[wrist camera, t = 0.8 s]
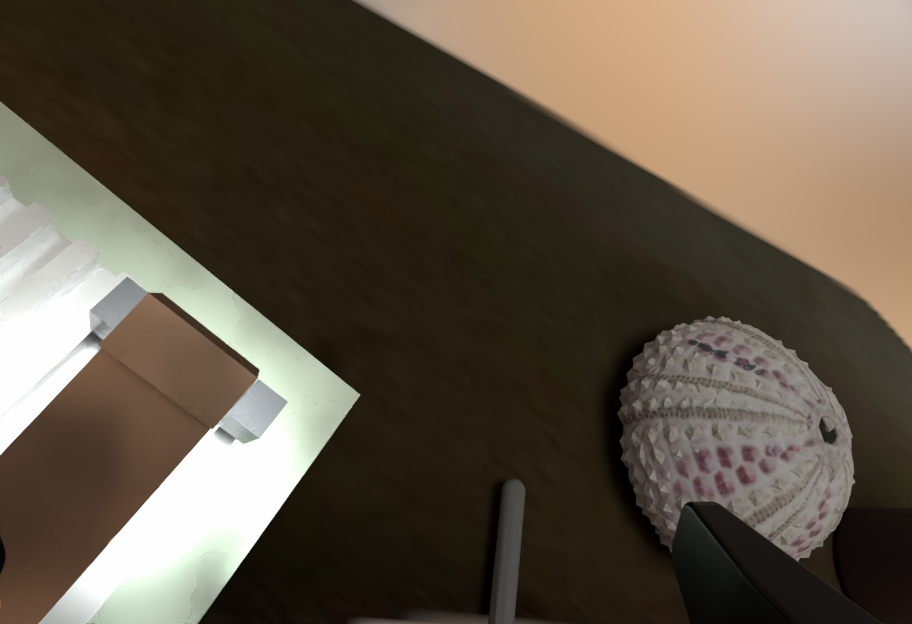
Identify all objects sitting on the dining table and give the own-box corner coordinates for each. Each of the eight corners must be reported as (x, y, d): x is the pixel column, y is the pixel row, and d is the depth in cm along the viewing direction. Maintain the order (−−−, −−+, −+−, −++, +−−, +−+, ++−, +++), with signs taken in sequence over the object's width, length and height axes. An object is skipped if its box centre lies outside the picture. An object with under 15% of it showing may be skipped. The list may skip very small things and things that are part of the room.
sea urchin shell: (603, 581, 28) (761, 607, 21) (587, 310, 32) (715, 261, 26) (774, 570, 34) (936, 586, 28) (742, 344, 39) (876, 312, 32)
